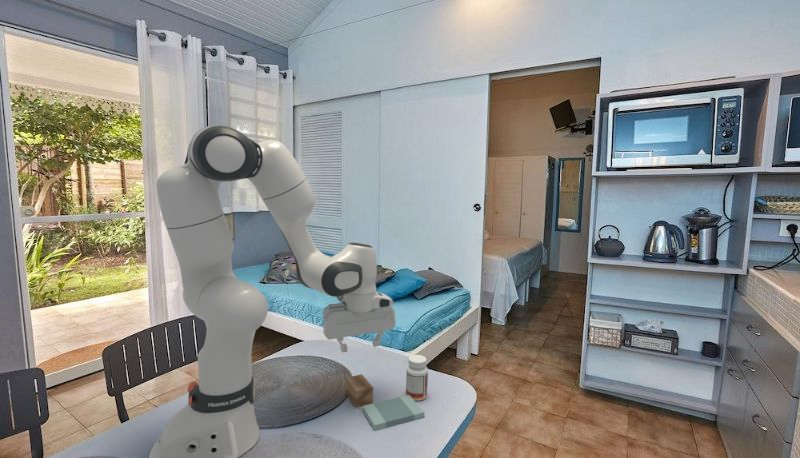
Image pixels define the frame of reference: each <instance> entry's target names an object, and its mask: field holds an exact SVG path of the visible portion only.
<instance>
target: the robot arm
mask: <svg viewBox="0 0 800 458" xmlns="http://www.w3.org/2000/svg"><path fill="white" fill-rule="evenodd" d="M245 179H247V180H249V181H250V182H251V184H252V185H253V186H254V187H255V189H256V191H257V193H258V194H259V196H260V198H261V200H262V202H263V203H264V205H265V207H266V209H268V211H269V213H270V215H271V216H272V217H273V219H274V221H275V223H276V224H277V226H278V228H279V229H280V232H281V234H282V236H283V238H284V240H285V242H286V244H287V247H288V248H289V250H290V252H291V254H292V256H293V258H294V262H295V269H296V270H295V271H296V276H297V279H298V280H299V282H300V284H301V285H302V286H303V287H306V288H308V289H312V290H315V291H318V292H319V293H322V294H325V295H326V296H328V297H329V296H330V297H335V298H336V297H341V296H344V299H343V302H337V303H329V304H328V305H327V306H325V307H324V308H323V311H322V315H323V320H324V322H323V332H322V333H323V335H324V336H325V338H326V339H327V340H334V339H336V340H337V342H338V344H339V345H340V352H341V353H346V352H348V345H347V343H343V342H344V338H348V337H353V336H361V335H366V334H373V333H377V334H376V335H375V338H372V339H371V340H372V343H371V344H372V346H373V348H375V347H380V341H381V339H382V337H383V335H384V332H385V331H392V330H394V329H395V327H396V312H395V309H394V307H393V306H394V305H393V304H394V300H393V299H392V298H391V297H390V296H388V295H387V294H385V293H382V292H378V291H377V286H376V278H377V271H378V270H377V254H376V251H375V249H374V247H373V246H372V245H370V244H367V243H360V242H349V243H347V244H346V246H345V247H344V248H343V249H342V250H340V251H339V252H338V253H336V254H334V255H332V256H330V255H327V254H325V253H323V252H321V250H319V249H318V248H317V246H316V244H315V242H314V240H313V239H312V238H313V237H312V236H311V234H310V232H309V230H308V227H307V224H306V220H307V219H308V218H309V216H311V214H312V212H313V211H314V208H315V204H316V200H315V195H314V192H313V189H312V187H311V185H310V183H309V180H308V179H307V177H306V175H305V173H304V171H303V169H302V168H301V166H300V164H299V163H298V161H297V159H296V158H295V157H294V155H293V154H292V153H291V152H290V150H289V149H288V148H287V147H286V145H285V144H284V143H282V142H281V141H279V140H275V139H267V140H262V141H259V142H255V141H254V140H253V139H251V138H250V137H248V136H246V135H245V134H244V133H242V132H241V131H239V130H237V129H235V128H233V127H230V126H226V125H220V124H213V125H208V126H205V127H202V128H201V129H199V130H198V131H197V132H195V133H194V135H193V137H192V138H191V140H190V142H189V145H188V148H187V153H186V157H185V160H184V164H182V165H180V166H179V165H178V166H175V167H172V168H170V169H169V168H168V170H166V171H164V172H163V173H162V174H161V175H160V176H159V177H158V178H157V181H156V193H157V199H158V204H159V208H160V213H161V216H162V221H163V222H164V226H165V228H166V230H167V231H166V232H167V234H168V237H169V239H170V242H171V244H172V247H173V250H174V253H175V255H176V258H177V261H178V265H179V270H180V276H181V284H182V287H183V291H182V298H183V302H184V304H185V306H186V307H187V309H188V310H189V311H190V313H191V314H192V315H194V316H195V317H197V318H199V319H200V320H201V321H204V325H205V327H206V334H205V340H204V343H203V346H202V348H200V350H199V352H198V353H197V354H198V355H197V371H198V373H197V374H198V382H196V381H191V382H190V383H189V384H188V386H187V392H188V403H187V404H186V405H185V406H183V407H182V408H181V409H179V410H178V411H177V412H176V413H174V414H173V415H172V416H171V417H170V418H169V419H168V420H167V422H166V423H165V426H164V428H163V431H162V434H161V436H160V437H159V438H158V439H157V440H156V441H155V442H154V444H153V445H152V447H151V449H150V452H149V455H148V458H238V457H239V458H240V457H241V456H242V455H244V454H245V453H247V452H248V451H250V449H252V448H253V447H254V446H255V445H256V443H257V442H258V441H259V439H260V437H261V430H260V428H259V425H258V421H257V418H256V413H255V407H254V406H255V405H254V402H255V382H254V381H255V380H254V376H253V375H252V350H253V342H254V339H255V334H256V331H257V330H258V329H259V328H260V327H261V326H262V325H263V323H264V322H265V320H266V318H267V315H268V311H269V303H268V301H267V298H266V296H265V295H264V293H263V292H261V291H260V290H259V289H258V288H257V287H256V286H255V285H253V284H251V283H249V282H246V281H243V280H241V279H238V278H237V276H236V275H235V273H234V270H233V264H232V253H233V251H234V248H235V245H234V240H233V238H232V234H231V232H230V231H231V230H230V229H229V226H228V222H227V219H226V215H225V213H224V209H223V207H222V204H221V200H220V194H219V188H220V185H221V183H222V182H234V181H235V182H236V181H239V180H245Z"/></svg>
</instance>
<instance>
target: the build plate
mask: <svg viewBox="0 0 800 458" xmlns="http://www.w3.org/2000/svg"><path fill="white" fill-rule="evenodd" d="M362 412H363V414H364V415H365V417H366V419H367V420H368V422H369V424H370V425H371V427H372V429H373V431H378V430H382V429H386V428H390V427H392V426H396V425H400V424H403V423H408V422H411V421H415V420H419V419H423V418H425V411H424V410H423V409H422V407H420V405H419V404H418V403H417V401H414V400H413V398H412V397H411V396H410V395H406V394H405V395H403V396H399V397H395V398H389V399H386V400H381V401H378V402H377V401H376V402H373V403H372V404H368V405H364V406H362Z"/></svg>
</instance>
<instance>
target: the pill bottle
mask: <svg viewBox="0 0 800 458" xmlns="http://www.w3.org/2000/svg"><path fill="white" fill-rule="evenodd" d="M405 374H406V383H405V387H406V388H405V396H406V395H410V396H411V397H412V398H413V400H414V401H415V402H417V401H424V400H425V399H426V398H427V397H428V382H429V381H428V380H429V379H428V378H429V377H428V376H429V369H428V367H427V358H426V357H425V356H424V355H421V354H412V355H410V356H409V357H408V365H407V367H406V373H405Z"/></svg>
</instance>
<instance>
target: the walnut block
mask: <svg viewBox="0 0 800 458" xmlns="http://www.w3.org/2000/svg"><path fill="white" fill-rule="evenodd" d="M345 395H346V396H347V398H348V399H349V400H350V402H351V403H352V405H353V406H354V408H355V409H357V408H363V406H364V405H368V404H372V403H374V402H373V400H374V397H373V396H374V387H373V385H372V384H371V382H369V380H368V379H367V378H366V377H365V376H364V375H363V374H361V373H360V374H356V375H353V376H348V377H345Z"/></svg>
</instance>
